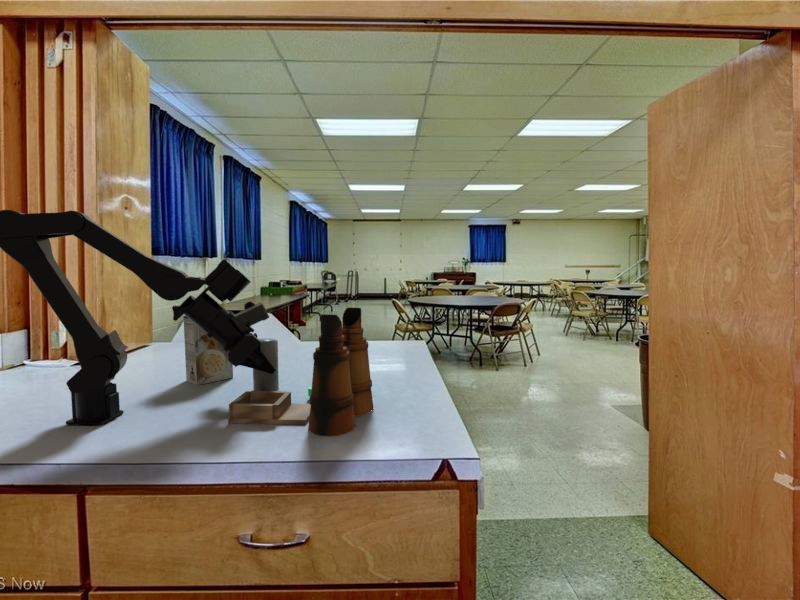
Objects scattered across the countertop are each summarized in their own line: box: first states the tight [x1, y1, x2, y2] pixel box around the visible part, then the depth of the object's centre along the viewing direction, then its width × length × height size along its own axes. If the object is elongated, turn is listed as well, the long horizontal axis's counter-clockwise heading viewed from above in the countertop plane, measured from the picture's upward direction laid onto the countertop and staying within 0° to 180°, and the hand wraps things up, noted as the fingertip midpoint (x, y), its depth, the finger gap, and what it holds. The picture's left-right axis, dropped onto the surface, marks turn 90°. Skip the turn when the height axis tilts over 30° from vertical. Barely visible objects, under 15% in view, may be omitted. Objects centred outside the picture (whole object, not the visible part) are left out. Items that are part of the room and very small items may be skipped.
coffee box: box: [182, 315, 234, 386], centre depth 107 cm, size 9×6×16 cm
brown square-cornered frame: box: [227, 390, 311, 425], centre depth 82 cm, size 14×9×3 cm, turn 88°
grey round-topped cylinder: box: [252, 338, 280, 391], centre depth 91 cm, size 5×5×13 cm
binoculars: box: [307, 307, 374, 437], centre depth 81 cm, size 18×8×20 cm, turn 165°
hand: (272, 369), depth 91 cm, fingers closed on grey round-topped cylinder, 5 cm apart
